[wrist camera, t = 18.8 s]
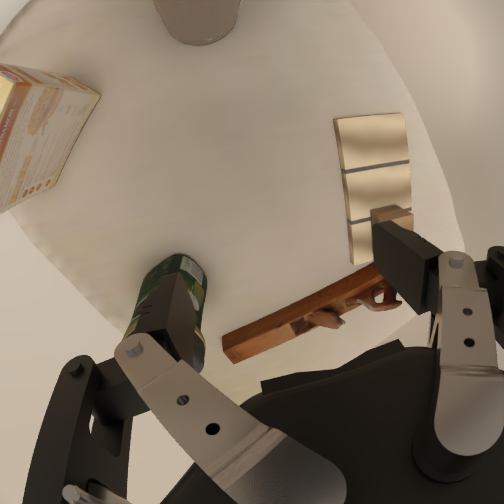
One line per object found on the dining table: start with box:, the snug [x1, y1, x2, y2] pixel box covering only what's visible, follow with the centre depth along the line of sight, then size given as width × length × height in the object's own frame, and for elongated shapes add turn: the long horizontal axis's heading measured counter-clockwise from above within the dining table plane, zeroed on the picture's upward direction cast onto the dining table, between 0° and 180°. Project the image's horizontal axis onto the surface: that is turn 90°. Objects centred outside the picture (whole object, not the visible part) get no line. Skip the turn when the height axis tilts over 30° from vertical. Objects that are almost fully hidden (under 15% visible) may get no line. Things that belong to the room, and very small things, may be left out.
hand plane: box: [222, 262, 402, 364], centre depth 43 cm, size 34×5×10 cm, turn 119°
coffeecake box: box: [0, 63, 101, 214], centre depth 22 cm, size 15×7×20 cm, turn 143°
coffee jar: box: [122, 255, 207, 373], centre depth 34 cm, size 10×8×19 cm
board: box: [333, 113, 412, 266], centre depth 39 cm, size 22×11×2 cm, turn 13°
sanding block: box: [370, 204, 413, 252], centre depth 39 cm, size 7×4×5 cm, turn 13°
